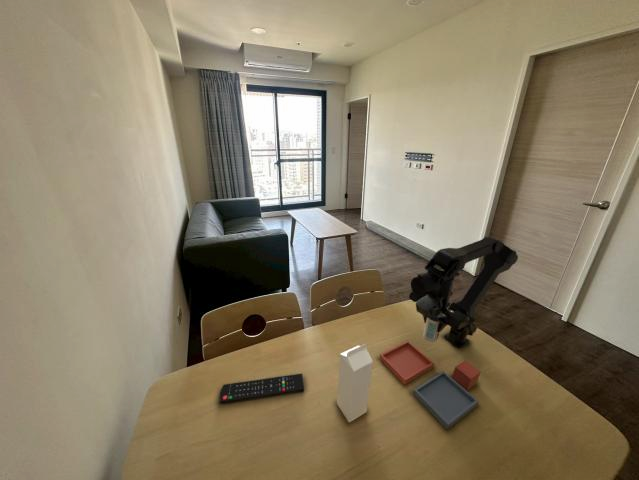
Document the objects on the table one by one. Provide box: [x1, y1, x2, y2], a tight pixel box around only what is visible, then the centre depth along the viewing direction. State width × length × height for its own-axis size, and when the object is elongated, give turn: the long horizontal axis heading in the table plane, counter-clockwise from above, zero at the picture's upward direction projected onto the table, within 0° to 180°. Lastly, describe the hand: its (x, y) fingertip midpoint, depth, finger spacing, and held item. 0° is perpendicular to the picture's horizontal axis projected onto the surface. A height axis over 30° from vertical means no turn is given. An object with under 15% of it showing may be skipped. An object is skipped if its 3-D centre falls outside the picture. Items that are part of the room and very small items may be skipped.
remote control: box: [219, 373, 305, 404], centre depth 74 cm, size 5×24×1 cm, turn 100°
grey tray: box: [412, 370, 479, 431], centre depth 72 cm, size 13×11×2 cm
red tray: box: [379, 340, 435, 386], centre depth 84 cm, size 13×11×2 cm
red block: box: [451, 360, 482, 391], centre depth 77 cm, size 5×5×5 cm
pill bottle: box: [422, 313, 443, 343], centre depth 85 cm, size 5×5×12 cm
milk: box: [336, 343, 374, 423], centre depth 66 cm, size 6×6×22 cm
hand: (432, 327), depth 86 cm, fingers closed on pill bottle, 5 cm apart
